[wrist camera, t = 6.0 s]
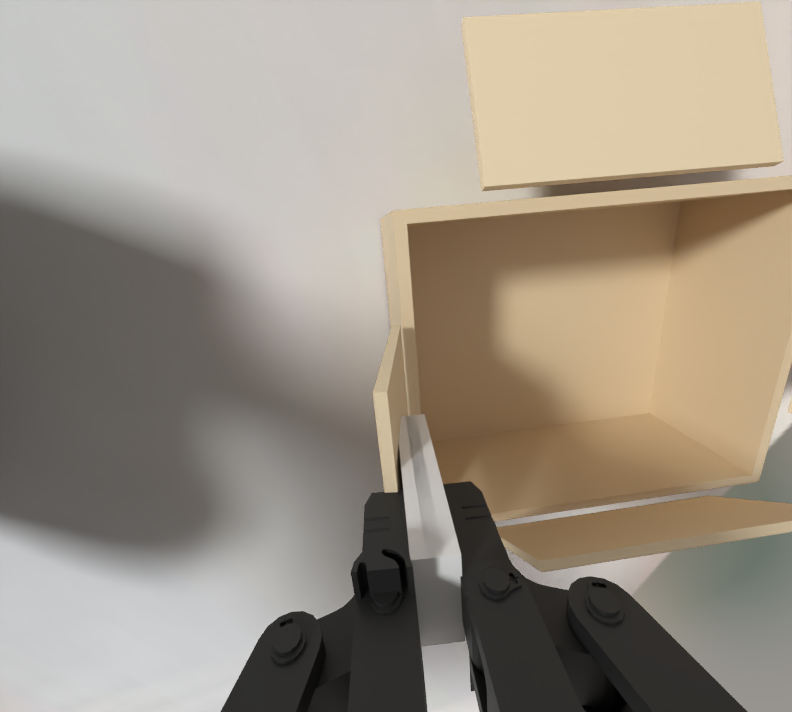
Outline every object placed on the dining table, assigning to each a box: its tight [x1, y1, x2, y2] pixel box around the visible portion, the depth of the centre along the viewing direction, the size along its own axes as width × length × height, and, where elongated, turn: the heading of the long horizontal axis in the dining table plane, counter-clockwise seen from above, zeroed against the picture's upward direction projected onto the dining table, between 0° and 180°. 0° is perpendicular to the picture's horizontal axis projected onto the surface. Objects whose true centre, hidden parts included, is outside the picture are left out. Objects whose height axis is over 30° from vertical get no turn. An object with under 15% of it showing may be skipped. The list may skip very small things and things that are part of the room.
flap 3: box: [497, 496, 792, 572], centre depth 18 cm, size 14×8×1 cm
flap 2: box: [461, 2, 784, 191], centre depth 16 cm, size 14×8×1 cm, turn 95°
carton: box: [380, 175, 792, 521], centre depth 24 cm, size 22×18×9 cm
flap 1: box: [373, 325, 408, 493], centre depth 15 cm, size 8×8×1 cm
